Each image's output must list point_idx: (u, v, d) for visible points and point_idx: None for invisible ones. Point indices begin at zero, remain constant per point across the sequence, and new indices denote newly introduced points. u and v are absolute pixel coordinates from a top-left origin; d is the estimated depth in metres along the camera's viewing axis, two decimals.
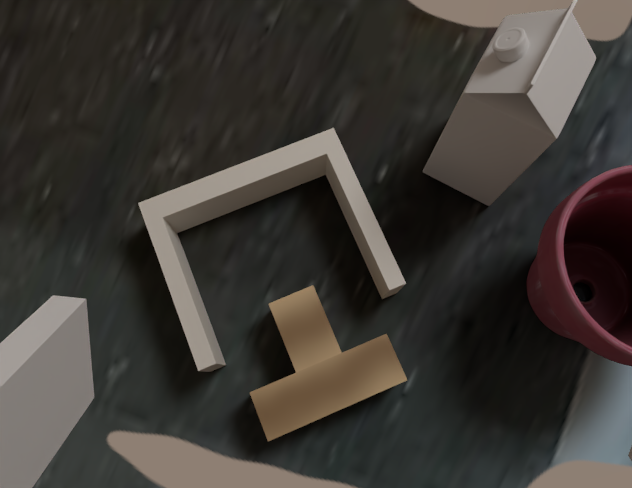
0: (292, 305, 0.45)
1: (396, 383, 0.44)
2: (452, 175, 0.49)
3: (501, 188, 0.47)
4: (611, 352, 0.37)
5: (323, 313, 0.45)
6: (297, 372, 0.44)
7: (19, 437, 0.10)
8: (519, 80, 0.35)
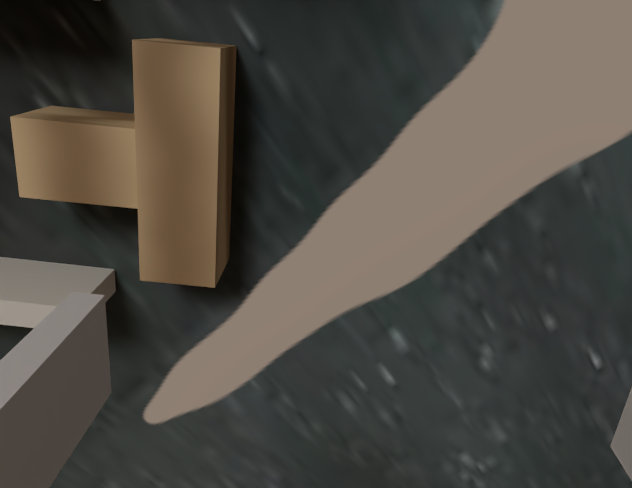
0: (33, 164, 0.27)
1: (217, 69, 0.25)
2: None
3: None
4: None
5: (61, 124, 0.26)
6: (138, 206, 0.27)
7: (43, 429, 0.10)
8: None
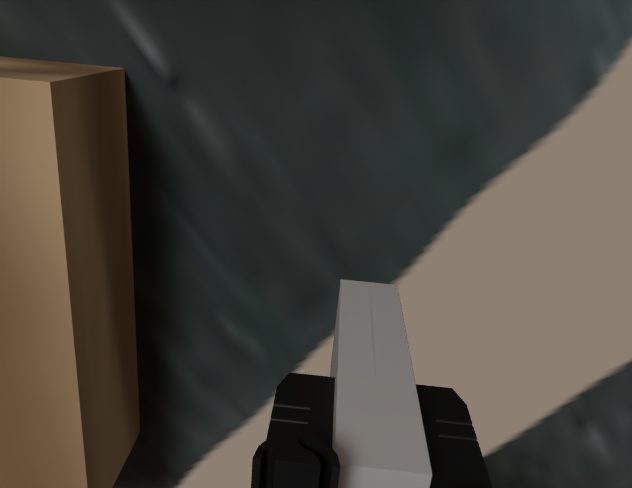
0: None
1: (49, 128, 0.11)
2: None
3: None
4: None
5: None
6: None
7: None
8: None
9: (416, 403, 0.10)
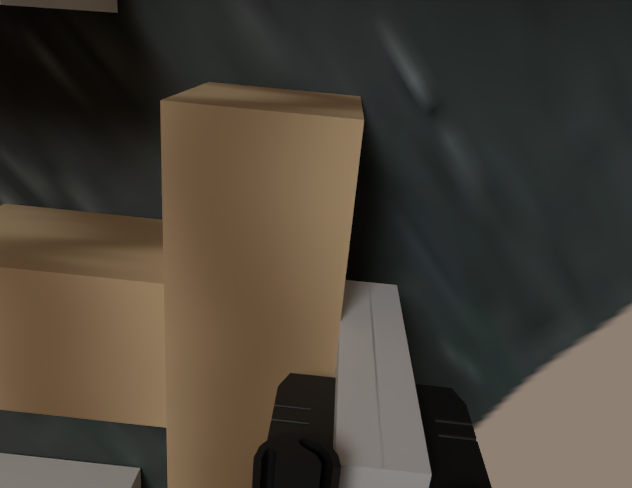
0: None
1: (353, 165, 0.11)
2: None
3: None
4: None
5: (9, 273, 0.12)
6: (167, 424, 0.14)
7: None
8: None
9: (415, 403, 0.10)
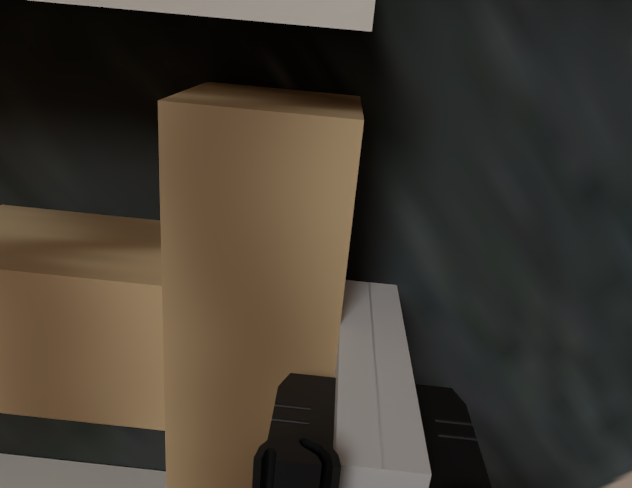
0: None
1: (353, 166, 0.11)
2: None
3: None
4: None
5: (5, 275, 0.12)
6: (166, 427, 0.13)
7: None
8: None
9: (415, 403, 0.10)
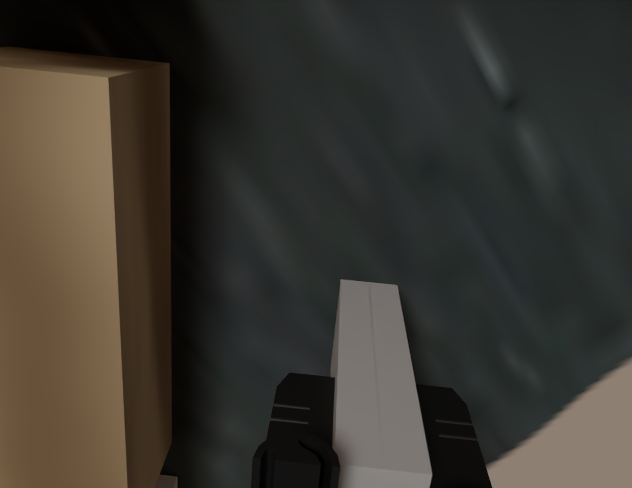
0: None
1: (105, 127, 0.10)
2: None
3: None
4: None
5: None
6: None
7: None
8: None
9: (416, 403, 0.10)
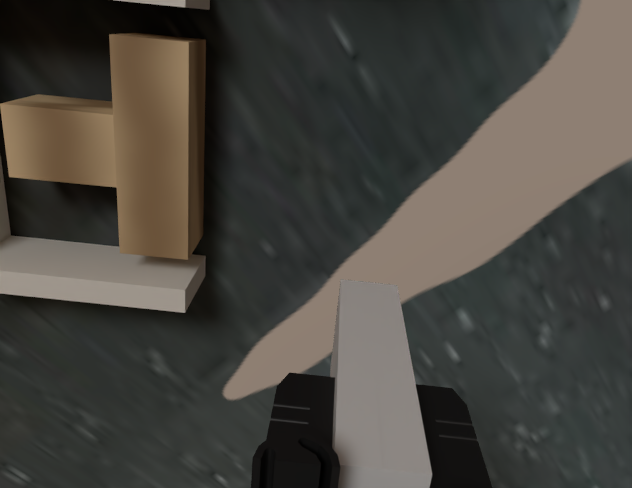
0: (21, 147, 0.30)
1: (186, 60, 0.28)
2: None
3: None
4: None
5: (46, 110, 0.29)
6: (117, 185, 0.30)
7: None
8: None
9: (416, 403, 0.10)
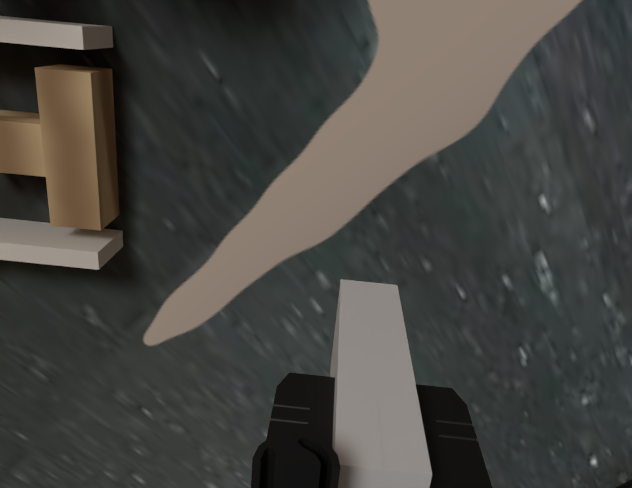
0: None
1: (89, 85, 0.39)
2: None
3: None
4: None
5: None
6: (45, 175, 0.42)
7: None
8: None
9: (416, 403, 0.10)
